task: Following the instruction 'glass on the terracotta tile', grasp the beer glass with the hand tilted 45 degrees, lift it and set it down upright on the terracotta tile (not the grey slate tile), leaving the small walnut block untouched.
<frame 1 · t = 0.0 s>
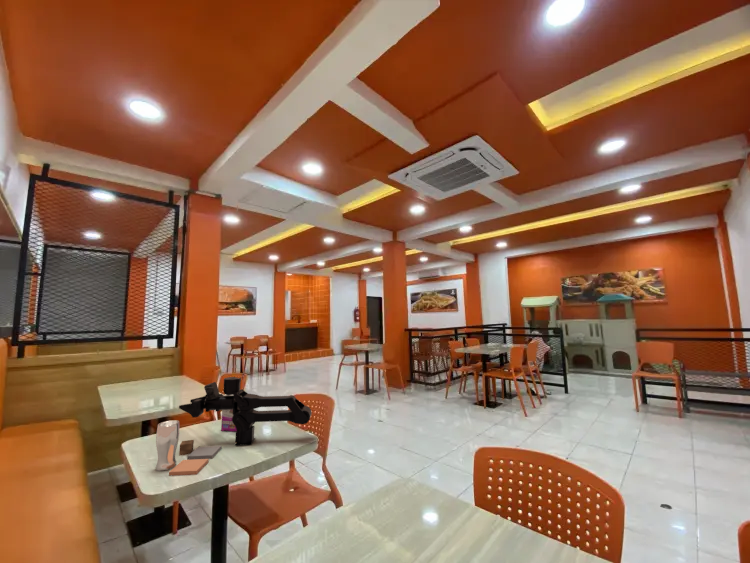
hand: (185, 403, 134), 17 cm above the table, tool horizontal, fingers open, 9 cm apart
walnut block: (186, 452, 124), on the table
terracotta tile: (189, 468, 111), on the table
candy bar box: (234, 430, 149), on the table
slate tile: (205, 453, 123), on the table
beer glass: (165, 467, 112), on the table
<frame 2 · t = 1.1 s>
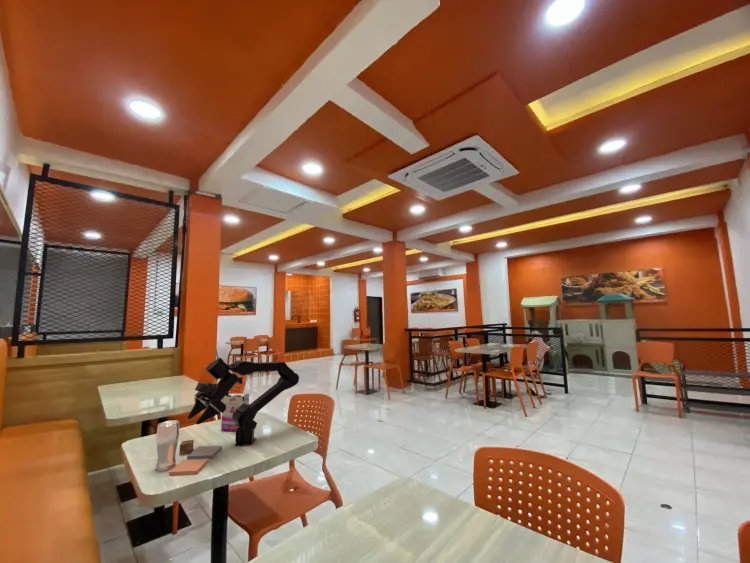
hand: (192, 421, 120), 14 cm above the table, tool tilted 45°, fingers open, 9 cm apart
nothing on the table moved.
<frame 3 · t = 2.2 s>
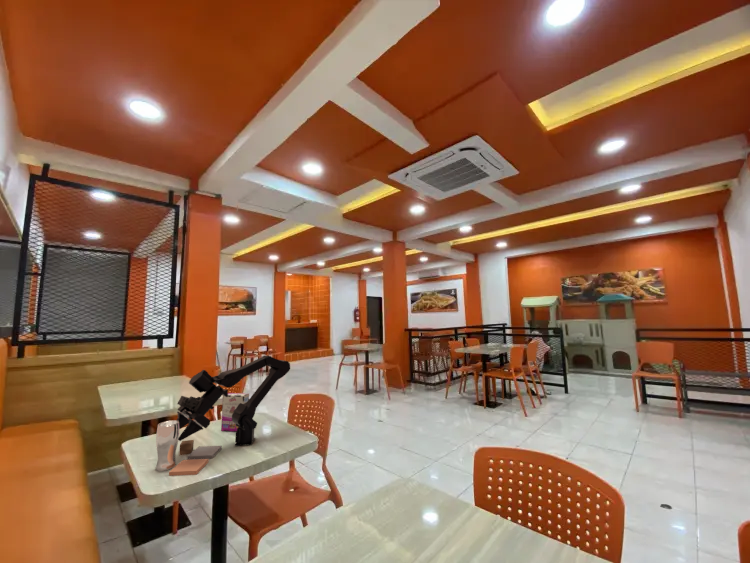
hand: (174, 437, 115), 10 cm above the table, tool tilted 45°, fingers open, 9 cm apart
nothing on the table moved.
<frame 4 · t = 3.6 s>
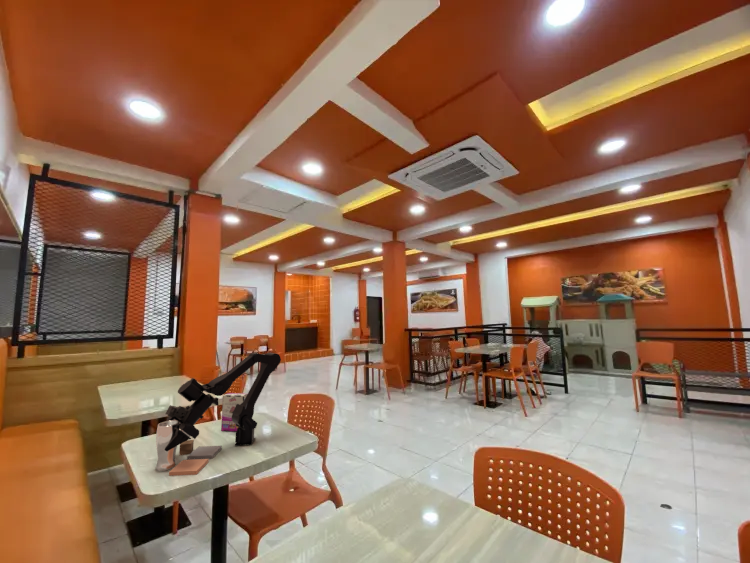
hand: (162, 447, 112), 7 cm above the table, tool tilted 45°, fingers closed on beer glass, 6 cm apart
beer glass: (165, 467, 112), on the table, touching gripper
everything else where it was.
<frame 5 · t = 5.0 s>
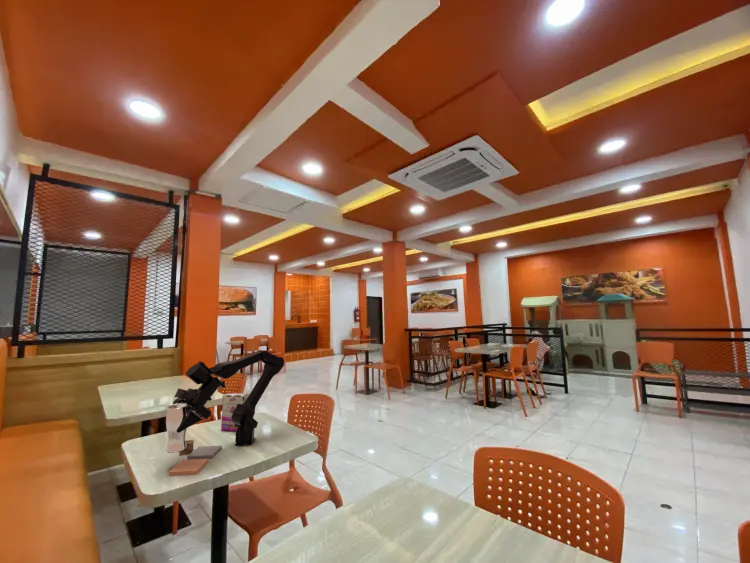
hand: (173, 430, 112), 13 cm above the table, tool tilted 45°, fingers closed on beer glass, 6 cm apart
beer glass: (176, 449, 113), point 6 cm above the table, touching gripper
everything else where it was.
when the fingers open (9 cm above the table, at t = 6.8 s): beer glass drops 1 cm, resting on terracotta tile.
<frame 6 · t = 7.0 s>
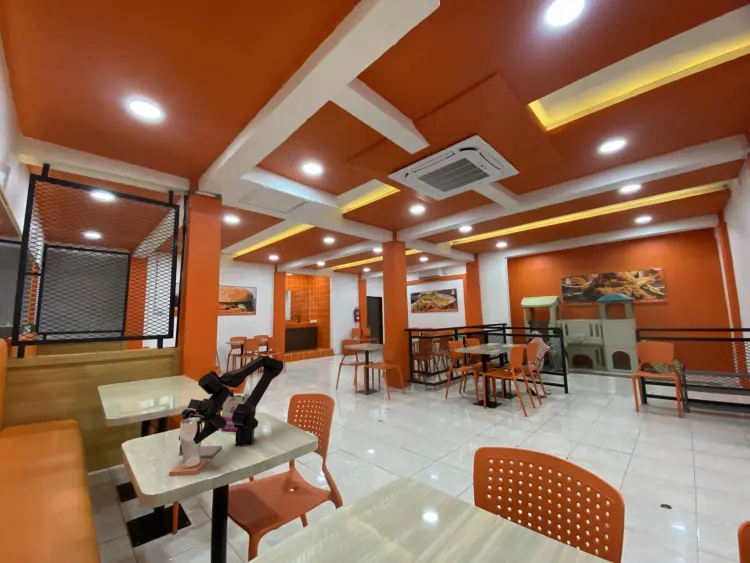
hand: (187, 441, 111), 10 cm above the table, tool tilted 45°, fingers open, 8 cm apart
beer glass: (191, 464, 112), point 1 cm above the table, touching gripper, terracotta tile
everything else where it was.
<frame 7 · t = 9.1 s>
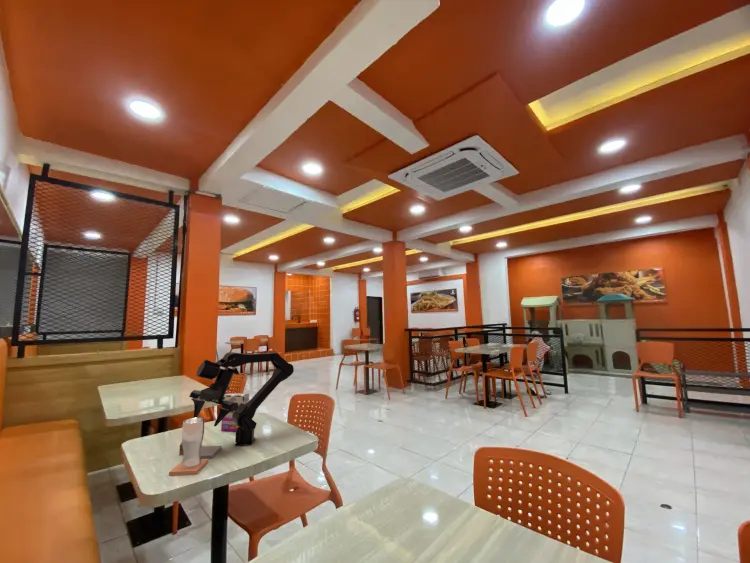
hand: (204, 422, 124), 12 cm above the table, tool tilted 20°, fingers open, 9 cm apart
beer glass: (191, 464, 112), point 1 cm above the table, touching terracotta tile
everything else where it was.
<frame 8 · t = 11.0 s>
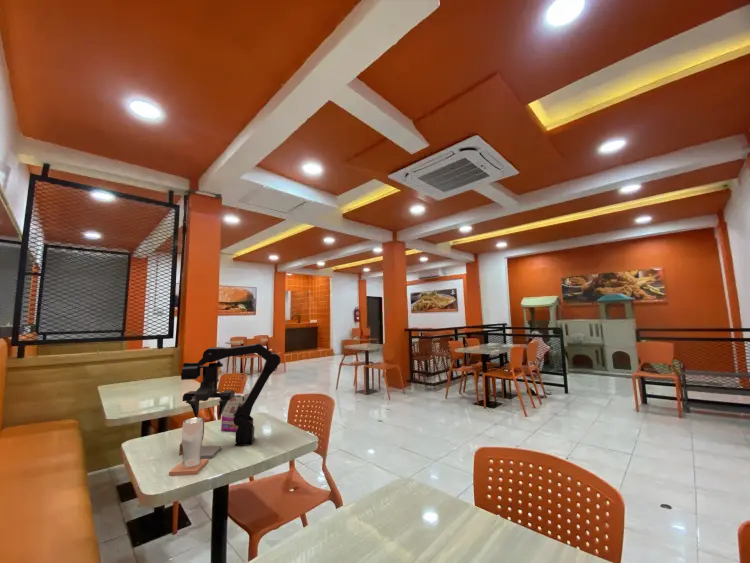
hand: (208, 417, 130), 12 cm above the table, tool pointing down, fingers open, 9 cm apart
nothing on the table moved.
at the end: beer glass inside the target area on the terracotta tile (0.6 cm from its centre), point 1.0 cm above the terracotta tile's base; beer glass tilted 0°; walnut block moved 0.1 cm from its start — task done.
